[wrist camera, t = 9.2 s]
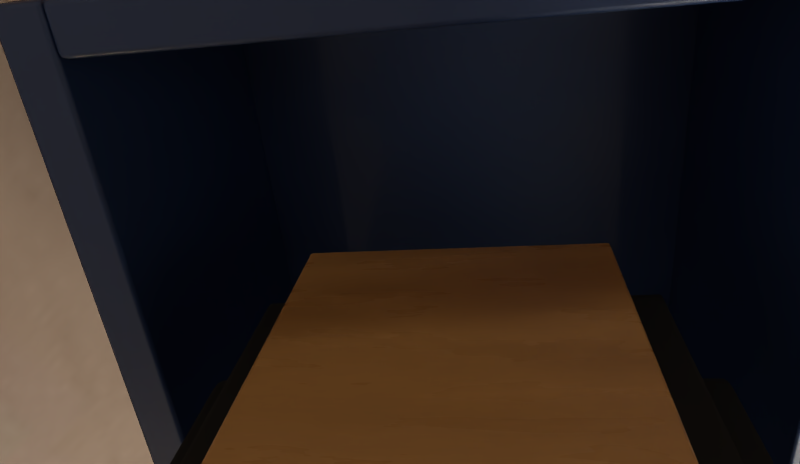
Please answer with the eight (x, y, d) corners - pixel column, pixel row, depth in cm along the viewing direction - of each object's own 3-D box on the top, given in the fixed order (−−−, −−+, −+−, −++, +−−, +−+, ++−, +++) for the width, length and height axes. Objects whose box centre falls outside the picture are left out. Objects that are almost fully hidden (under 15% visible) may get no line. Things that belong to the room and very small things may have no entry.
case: (209, -32, 15) (-17, 6, 8) (734, -88, 14) (1000, -100, 7) (311, 445, 22) (233, 685, 15) (672, 449, 20) (771, 724, 13)
